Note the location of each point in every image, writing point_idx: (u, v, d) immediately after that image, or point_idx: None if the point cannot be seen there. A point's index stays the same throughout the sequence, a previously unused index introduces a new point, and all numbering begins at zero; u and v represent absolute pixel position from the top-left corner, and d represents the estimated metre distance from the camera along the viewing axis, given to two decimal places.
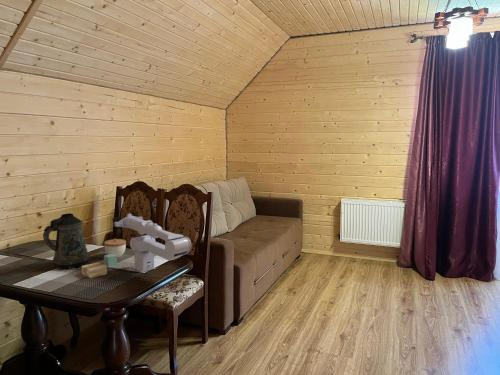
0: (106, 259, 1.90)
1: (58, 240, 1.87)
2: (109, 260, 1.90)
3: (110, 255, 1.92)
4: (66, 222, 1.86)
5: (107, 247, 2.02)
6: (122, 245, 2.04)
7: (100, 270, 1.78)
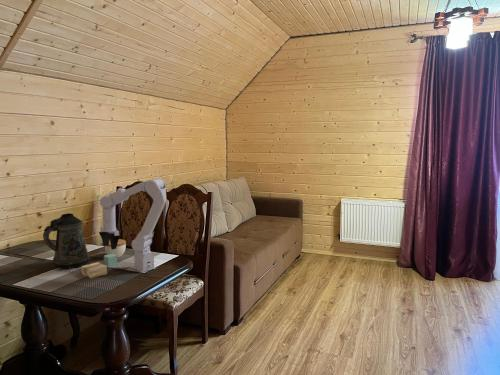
0: (106, 259, 1.90)
1: (58, 240, 1.87)
2: (109, 260, 1.90)
3: (110, 255, 1.92)
4: (66, 222, 1.86)
5: (107, 247, 2.02)
6: (122, 245, 2.04)
7: (100, 270, 1.78)
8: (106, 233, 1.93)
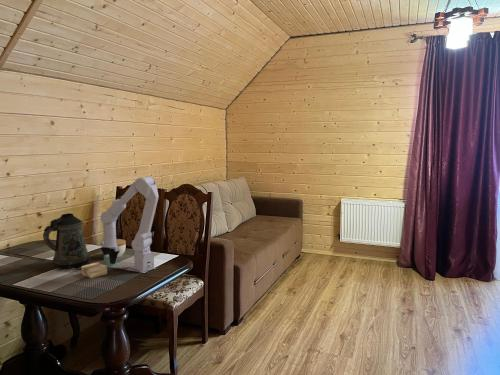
0: (106, 259, 1.90)
1: (58, 240, 1.87)
2: (109, 260, 1.90)
3: None
4: (66, 222, 1.86)
5: None
6: (122, 245, 2.04)
7: (100, 270, 1.78)
8: (108, 249, 1.94)
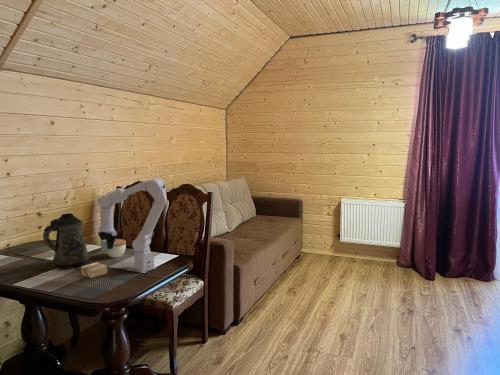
0: (103, 243, 1.87)
1: (58, 240, 1.87)
2: (106, 245, 1.87)
3: None
4: (66, 222, 1.86)
5: None
6: (122, 245, 2.04)
7: (100, 270, 1.79)
8: (105, 234, 1.91)
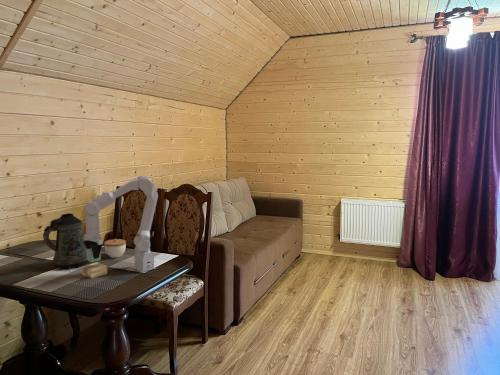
0: (89, 253, 1.77)
1: (58, 240, 1.87)
2: (92, 254, 1.77)
3: None
4: (66, 222, 1.86)
5: (107, 247, 2.02)
6: (122, 245, 2.04)
7: (100, 270, 1.79)
8: (91, 242, 1.81)
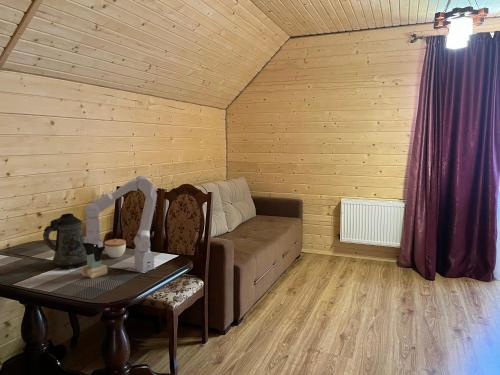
0: (89, 259, 1.78)
1: (58, 240, 1.87)
2: (92, 260, 1.77)
3: None
4: (66, 222, 1.86)
5: (107, 247, 2.02)
6: (122, 245, 2.04)
7: (101, 270, 1.79)
8: (90, 244, 1.82)
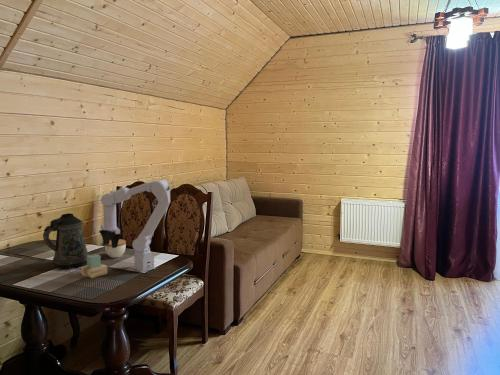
0: (89, 259, 1.78)
1: (58, 240, 1.87)
2: (92, 260, 1.77)
3: (93, 255, 1.80)
4: (66, 222, 1.86)
5: (107, 247, 2.02)
6: (122, 245, 2.04)
7: (101, 270, 1.79)
8: (107, 231, 1.91)
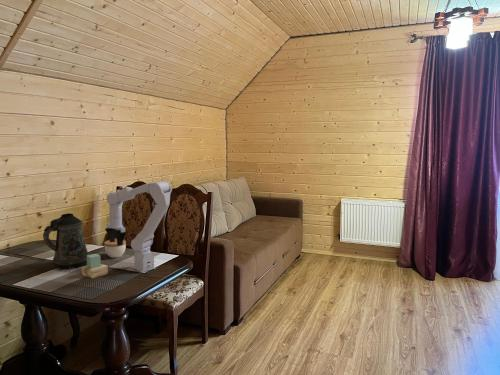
0: (89, 259, 1.78)
1: (58, 240, 1.87)
2: (91, 260, 1.77)
3: (93, 255, 1.80)
4: (66, 222, 1.86)
5: (107, 247, 2.02)
6: (122, 245, 2.04)
7: (101, 270, 1.79)
8: (112, 229, 1.95)
